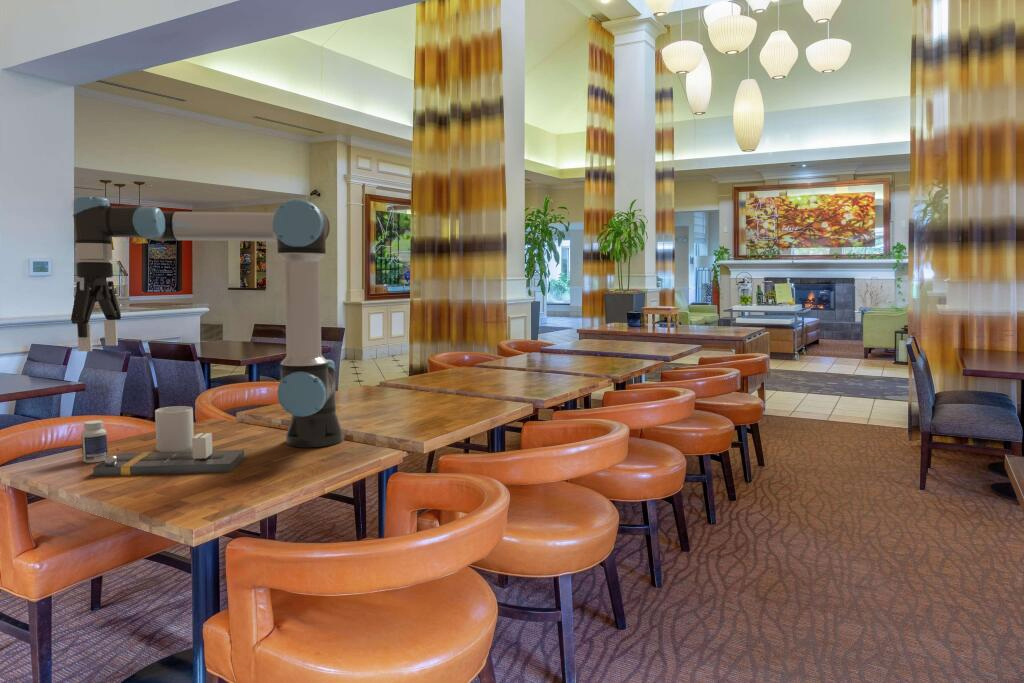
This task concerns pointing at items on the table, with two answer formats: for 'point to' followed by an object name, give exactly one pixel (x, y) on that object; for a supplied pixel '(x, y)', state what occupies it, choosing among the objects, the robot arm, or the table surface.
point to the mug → (174, 428)
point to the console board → (168, 463)
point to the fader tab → (202, 445)
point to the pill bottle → (94, 442)
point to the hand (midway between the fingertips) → (99, 348)
